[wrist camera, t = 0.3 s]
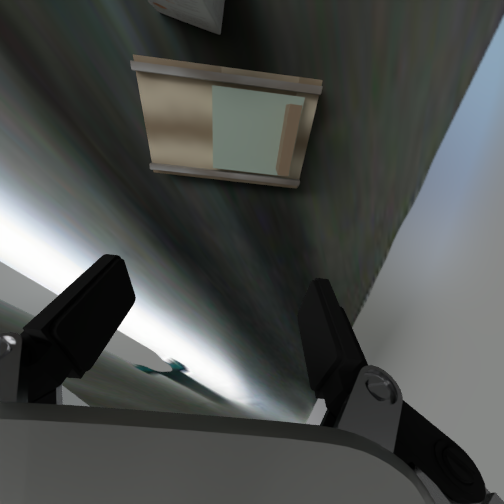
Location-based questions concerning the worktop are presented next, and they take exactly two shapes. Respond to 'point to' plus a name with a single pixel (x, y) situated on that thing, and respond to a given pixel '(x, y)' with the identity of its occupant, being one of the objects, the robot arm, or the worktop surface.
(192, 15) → the small box
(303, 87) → the sliding lid wooden box
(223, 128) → the lid
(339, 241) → the worktop surface
